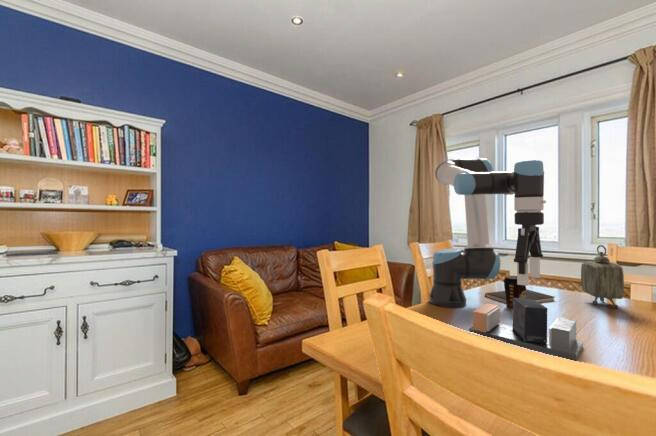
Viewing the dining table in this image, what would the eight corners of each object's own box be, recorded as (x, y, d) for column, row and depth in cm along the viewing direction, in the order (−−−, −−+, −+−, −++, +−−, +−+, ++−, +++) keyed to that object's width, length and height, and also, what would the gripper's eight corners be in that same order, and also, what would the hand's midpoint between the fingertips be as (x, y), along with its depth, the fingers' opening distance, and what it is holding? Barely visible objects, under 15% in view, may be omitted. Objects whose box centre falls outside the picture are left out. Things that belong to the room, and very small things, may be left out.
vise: (468, 333, 104) (468, 310, 104) (482, 323, 112) (482, 302, 112) (576, 360, 84) (576, 332, 84) (582, 346, 92) (582, 321, 92)
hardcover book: (555, 301, 139) (555, 296, 139) (513, 307, 133) (513, 301, 133) (523, 293, 155) (523, 288, 155) (484, 297, 148) (484, 292, 148)
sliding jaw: (472, 329, 103) (472, 311, 103) (486, 320, 111) (485, 303, 111) (487, 333, 99) (487, 314, 99) (500, 323, 108) (500, 305, 108)
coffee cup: (526, 307, 131) (526, 275, 130) (529, 313, 123) (529, 279, 123) (502, 304, 134) (502, 274, 134) (504, 310, 127) (504, 278, 126)
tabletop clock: (623, 310, 124) (623, 247, 124) (596, 308, 127) (595, 246, 127) (604, 300, 138) (604, 243, 138) (580, 299, 141) (579, 243, 141)
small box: (549, 344, 91) (549, 307, 91) (524, 342, 92) (523, 306, 92) (534, 330, 101) (533, 298, 101) (511, 329, 103) (511, 297, 102)
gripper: (532, 212, 85) (532, 290, 85) (552, 211, 102) (552, 276, 102) (502, 212, 90) (502, 286, 90) (525, 211, 107) (526, 273, 108)
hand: (529, 281), depth 96 cm, fingers open, 13 cm apart
